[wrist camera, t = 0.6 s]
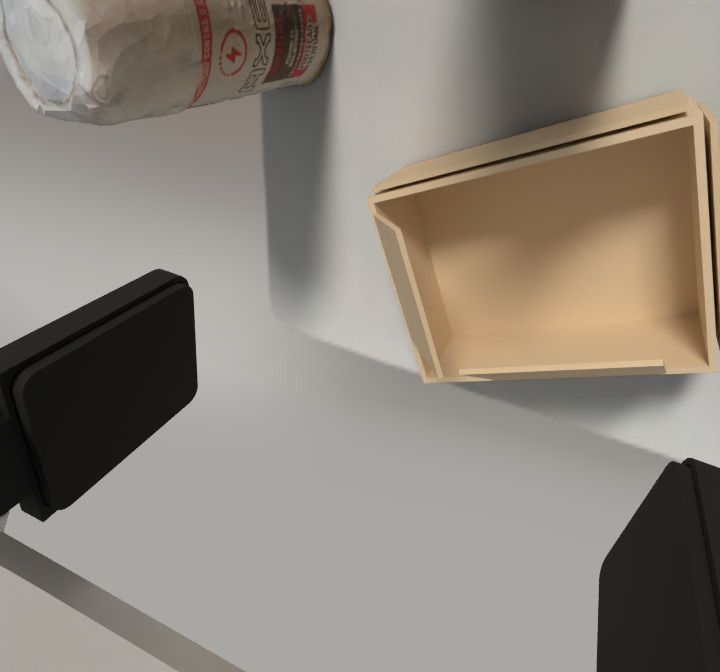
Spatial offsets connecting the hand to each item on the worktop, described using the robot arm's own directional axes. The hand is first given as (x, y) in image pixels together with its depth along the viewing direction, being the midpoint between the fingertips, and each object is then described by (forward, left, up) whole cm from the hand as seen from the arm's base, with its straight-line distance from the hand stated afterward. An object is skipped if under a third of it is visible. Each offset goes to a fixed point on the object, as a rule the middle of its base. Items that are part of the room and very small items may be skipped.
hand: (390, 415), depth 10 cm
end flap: (+11, +5, -23) cm, 26 cm away
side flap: (+1, +13, -23) cm, 26 cm away
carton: (+2, +6, -30) cm, 30 cm away
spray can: (+17, -13, -30) cm, 37 cm away
